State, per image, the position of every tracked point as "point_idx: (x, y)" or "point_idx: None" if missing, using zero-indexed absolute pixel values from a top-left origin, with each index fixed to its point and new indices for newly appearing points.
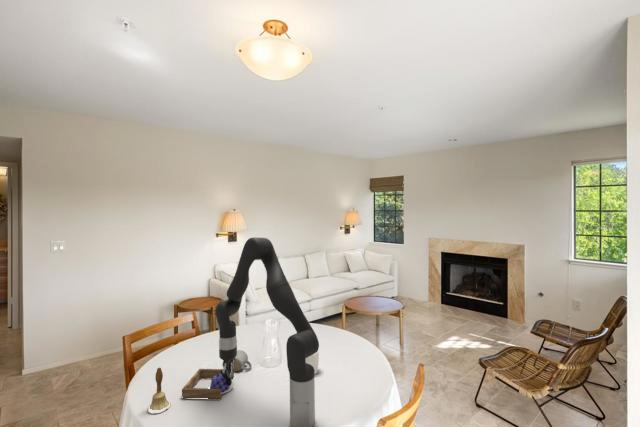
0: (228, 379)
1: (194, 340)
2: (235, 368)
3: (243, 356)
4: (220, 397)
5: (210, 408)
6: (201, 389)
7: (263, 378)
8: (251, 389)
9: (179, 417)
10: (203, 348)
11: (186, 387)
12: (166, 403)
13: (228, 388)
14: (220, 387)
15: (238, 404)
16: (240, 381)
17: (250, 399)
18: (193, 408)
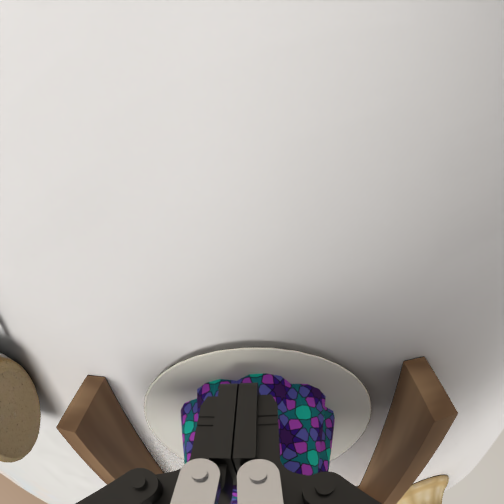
0: (277, 451)
1: (15, 482)
2: (19, 392)
3: None
4: (424, 368)
5: (491, 357)
6: (401, 491)
7: (12, 104)
8: (223, 119)
9: (496, 422)
10: (19, 472)
11: None
12: (424, 497)
13: (252, 372)
14: (321, 433)
15: (493, 180)
16: (104, 310)
17: (423, 76)
18: (460, 424)
